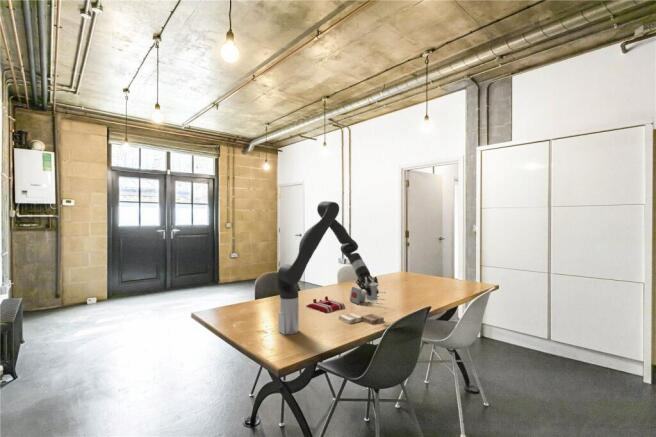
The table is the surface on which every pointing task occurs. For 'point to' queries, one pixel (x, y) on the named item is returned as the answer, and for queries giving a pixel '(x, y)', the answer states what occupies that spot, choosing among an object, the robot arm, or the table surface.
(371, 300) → the block
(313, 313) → the table surface
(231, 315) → the table surface
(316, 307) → the fire alarm
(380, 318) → the stand
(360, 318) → the stand
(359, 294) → the voltmeter
